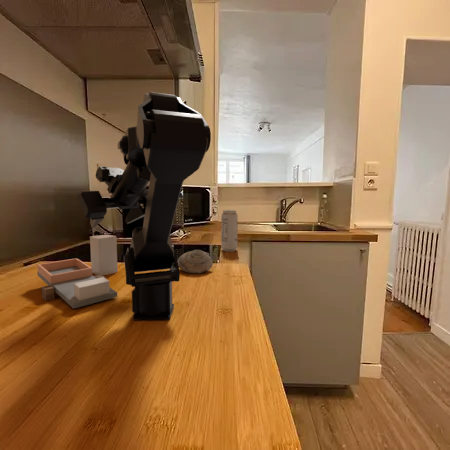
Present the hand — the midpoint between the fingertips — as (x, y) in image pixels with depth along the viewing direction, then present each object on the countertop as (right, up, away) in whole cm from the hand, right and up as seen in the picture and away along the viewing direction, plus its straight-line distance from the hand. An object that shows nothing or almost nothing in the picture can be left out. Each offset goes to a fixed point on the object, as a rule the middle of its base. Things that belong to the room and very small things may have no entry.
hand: (109, 224), depth 76 cm
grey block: (-4, -13, +8) cm, 16 cm away
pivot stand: (-4, -15, -8) cm, 18 cm away
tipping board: (-4, -14, -9) cm, 17 cm away
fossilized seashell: (+21, -13, +12) cm, 27 cm away
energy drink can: (+30, -10, +39) cm, 50 cm away
